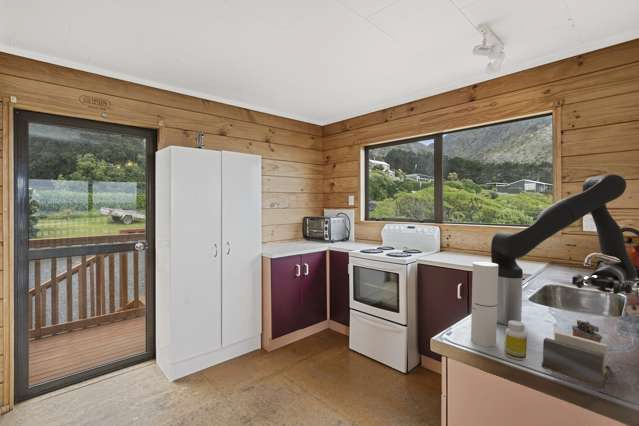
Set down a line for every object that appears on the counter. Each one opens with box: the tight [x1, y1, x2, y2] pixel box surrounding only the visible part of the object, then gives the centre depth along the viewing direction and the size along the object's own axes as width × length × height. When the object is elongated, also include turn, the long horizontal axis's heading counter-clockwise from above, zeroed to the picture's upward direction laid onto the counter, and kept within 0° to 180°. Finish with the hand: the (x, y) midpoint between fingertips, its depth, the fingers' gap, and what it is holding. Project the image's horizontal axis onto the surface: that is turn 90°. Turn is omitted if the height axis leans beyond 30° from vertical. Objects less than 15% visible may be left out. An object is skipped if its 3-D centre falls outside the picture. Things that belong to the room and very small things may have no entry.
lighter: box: [571, 319, 603, 343], centre depth 92 cm, size 8×3×10 cm, turn 5°
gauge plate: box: [554, 330, 610, 369], centre depth 88 cm, size 2×12×6 cm, turn 40°
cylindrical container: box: [470, 261, 498, 348], centre depth 101 cm, size 7×7×25 cm
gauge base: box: [541, 337, 612, 388], centre depth 86 cm, size 12×12×8 cm
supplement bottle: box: [504, 320, 528, 361], centre depth 93 cm, size 5×5×10 cm
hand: (596, 287), depth 99 cm, fingers open, 8 cm apart
